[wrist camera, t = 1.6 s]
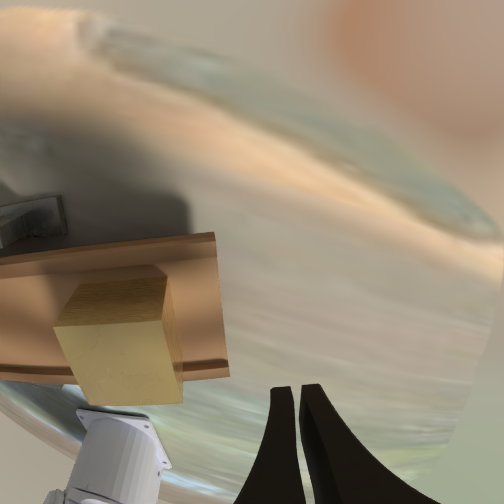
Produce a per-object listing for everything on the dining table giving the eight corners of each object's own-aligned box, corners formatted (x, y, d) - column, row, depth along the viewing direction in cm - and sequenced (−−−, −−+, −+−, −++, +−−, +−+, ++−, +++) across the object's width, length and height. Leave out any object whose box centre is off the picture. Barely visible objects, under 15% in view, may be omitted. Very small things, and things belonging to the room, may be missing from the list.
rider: (183, 352, 17) (182, 403, 14) (103, 357, 17) (89, 405, 13) (168, 275, 16) (161, 320, 12) (78, 284, 15) (52, 326, 11)
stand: (107, 364, 22) (91, 400, 18) (34, 356, 22) (14, 384, 18) (60, 195, 17) (24, 213, 13) (-16, 209, 17) (-50, 227, 13)
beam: (222, 330, 22) (232, 393, 17) (-51, 338, 18) (-80, 376, 13) (211, 214, 19) (217, 252, 13) (-83, 258, 15) (-121, 288, 10)
